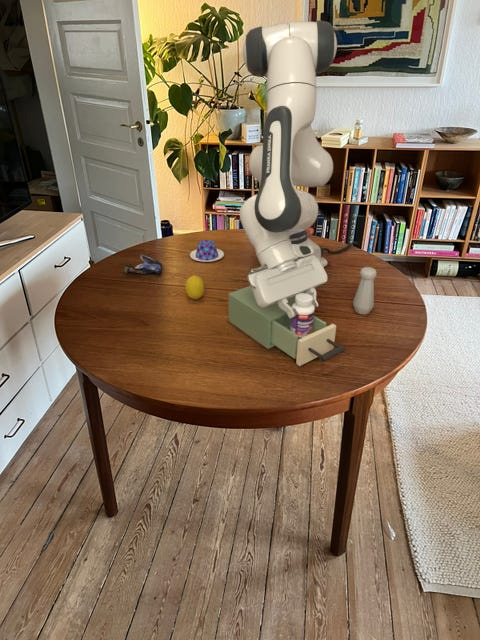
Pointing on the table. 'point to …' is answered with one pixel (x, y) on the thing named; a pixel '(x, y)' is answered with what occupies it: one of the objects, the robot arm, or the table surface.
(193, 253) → the pudding
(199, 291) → the lemon
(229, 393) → the table surface
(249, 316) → the cabinet
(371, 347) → the table surface
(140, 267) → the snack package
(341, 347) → the drawer
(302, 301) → the pill bottle
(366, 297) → the salt shaker
